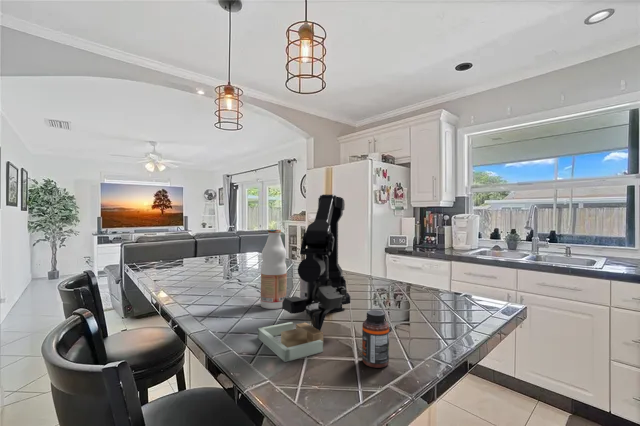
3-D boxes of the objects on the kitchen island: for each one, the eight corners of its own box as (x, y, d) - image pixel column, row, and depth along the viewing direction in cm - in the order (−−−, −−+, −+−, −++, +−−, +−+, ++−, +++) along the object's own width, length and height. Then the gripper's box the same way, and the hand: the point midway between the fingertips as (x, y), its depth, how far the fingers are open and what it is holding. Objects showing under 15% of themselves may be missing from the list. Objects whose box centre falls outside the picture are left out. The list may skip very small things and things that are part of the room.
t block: (305, 333, 86) (305, 322, 86) (323, 344, 79) (323, 332, 79) (276, 339, 81) (276, 328, 81) (292, 352, 74) (292, 339, 74)
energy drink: (315, 301, 120) (315, 270, 120) (310, 304, 115) (311, 272, 115) (302, 299, 122) (303, 269, 122) (297, 303, 117) (297, 271, 117)
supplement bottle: (359, 357, 72) (359, 308, 72) (384, 356, 72) (384, 308, 72) (365, 369, 66) (365, 316, 66) (392, 368, 66) (392, 316, 66)
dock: (291, 330, 88) (291, 321, 88) (322, 351, 74) (322, 341, 74) (257, 337, 82) (257, 328, 82) (284, 362, 69) (284, 350, 69)
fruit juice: (260, 310, 107) (262, 230, 108) (260, 302, 116) (261, 229, 117) (287, 308, 109) (288, 230, 110) (284, 301, 119) (285, 229, 119)
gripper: (302, 284, 71) (302, 351, 71) (363, 276, 82) (363, 335, 81) (281, 276, 81) (281, 336, 80) (338, 270, 91) (338, 323, 91)
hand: (317, 332), depth 83 cm, fingers closed
